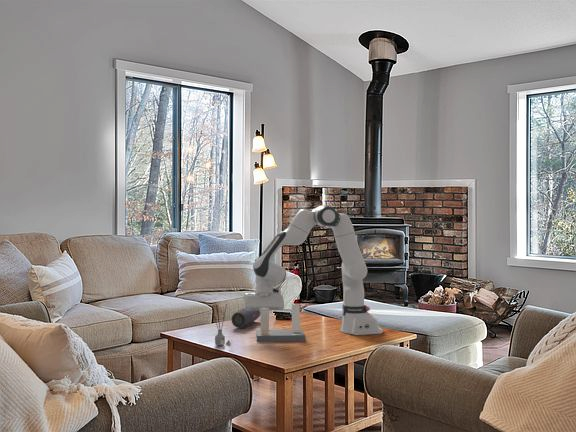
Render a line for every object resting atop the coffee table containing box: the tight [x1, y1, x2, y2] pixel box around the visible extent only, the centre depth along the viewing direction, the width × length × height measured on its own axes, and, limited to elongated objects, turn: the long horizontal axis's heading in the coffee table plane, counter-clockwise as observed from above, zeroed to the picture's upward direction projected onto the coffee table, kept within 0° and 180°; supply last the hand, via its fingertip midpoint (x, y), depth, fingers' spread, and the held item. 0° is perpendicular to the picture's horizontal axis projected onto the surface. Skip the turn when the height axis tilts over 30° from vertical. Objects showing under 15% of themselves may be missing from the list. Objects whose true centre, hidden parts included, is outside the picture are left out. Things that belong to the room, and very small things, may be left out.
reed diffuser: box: [211, 304, 231, 346], centre depth 294 cm, size 10×7×20 cm
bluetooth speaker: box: [231, 307, 261, 328], centre depth 337 cm, size 23×9×10 cm, turn 162°
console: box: [255, 329, 306, 343], centre depth 307 cm, size 24×12×3 cm, turn 94°
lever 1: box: [260, 308, 270, 333], centre depth 303 cm, size 4×2×14 cm, turn 94°
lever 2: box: [291, 303, 301, 331], centre depth 310 cm, size 4×2×14 cm, turn 94°
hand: (264, 316), depth 304 cm, fingers closed, pressing on lever 1
